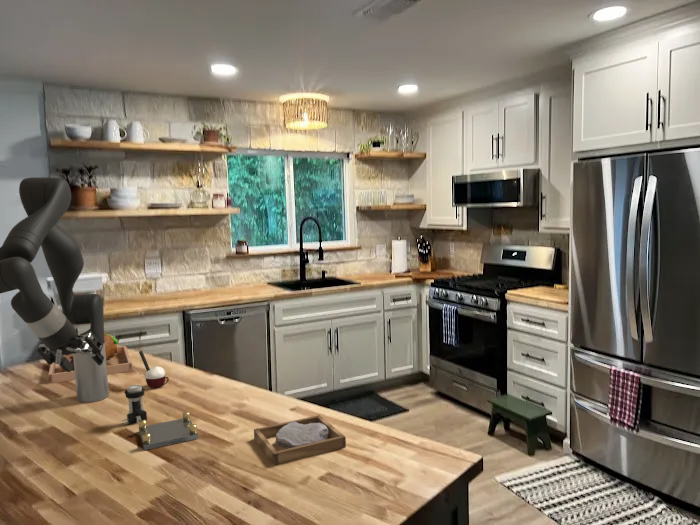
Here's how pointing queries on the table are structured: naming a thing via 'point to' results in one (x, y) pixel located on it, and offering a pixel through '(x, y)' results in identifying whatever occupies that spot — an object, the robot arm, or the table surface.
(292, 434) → the stone block
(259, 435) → the block coaster frame
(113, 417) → the table surface
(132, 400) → the push button
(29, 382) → the table surface
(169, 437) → the plate
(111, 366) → the wooden tray
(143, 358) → the cocoa
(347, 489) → the table surface
